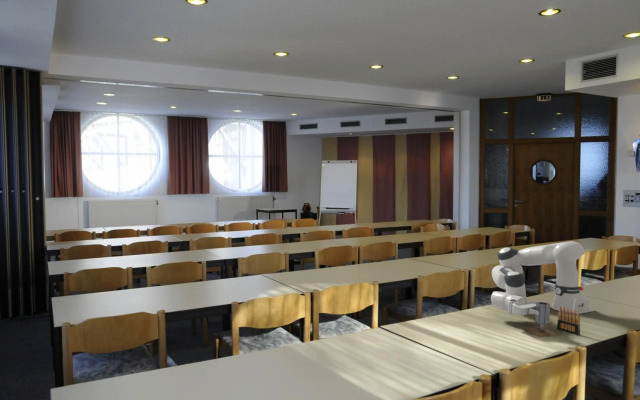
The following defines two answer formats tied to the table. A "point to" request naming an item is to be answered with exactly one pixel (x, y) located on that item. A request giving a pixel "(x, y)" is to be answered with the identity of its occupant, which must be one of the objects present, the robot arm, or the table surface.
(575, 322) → the ammunition clip
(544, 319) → the grey octagonal tube
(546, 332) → the stand
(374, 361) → the table surface
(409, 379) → the table surface
